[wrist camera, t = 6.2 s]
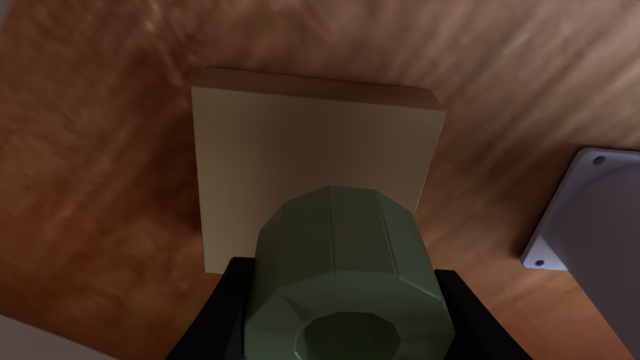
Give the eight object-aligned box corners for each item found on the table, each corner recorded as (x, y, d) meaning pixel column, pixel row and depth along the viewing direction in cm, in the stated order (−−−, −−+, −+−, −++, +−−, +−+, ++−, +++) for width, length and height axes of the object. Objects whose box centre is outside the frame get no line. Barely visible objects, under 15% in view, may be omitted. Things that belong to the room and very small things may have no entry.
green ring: (400, 309, 15) (423, 404, 12) (256, 301, 14) (242, 397, 11) (440, 193, 12) (483, 280, 9) (260, 178, 11) (242, 265, 8)
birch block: (431, 89, 17) (447, 111, 15) (386, 252, 23) (393, 284, 21) (205, 66, 16) (190, 86, 14) (214, 240, 22) (204, 273, 20)
